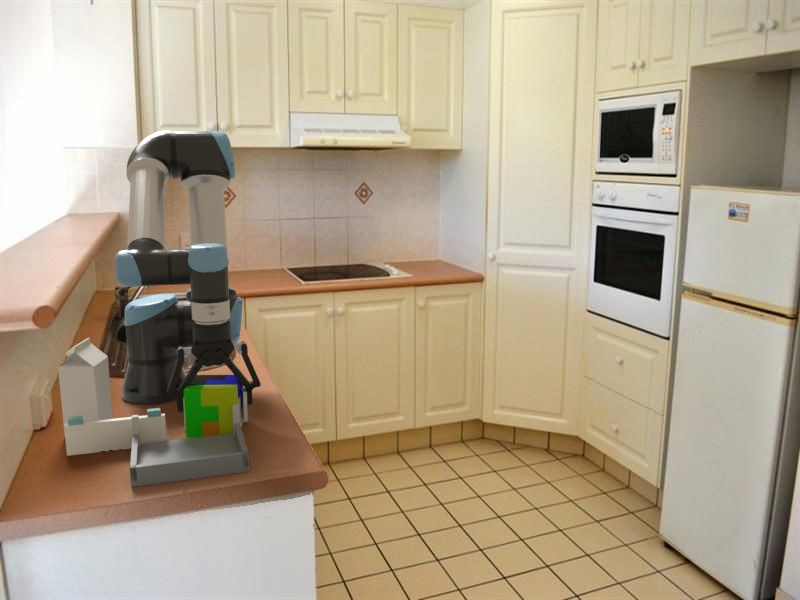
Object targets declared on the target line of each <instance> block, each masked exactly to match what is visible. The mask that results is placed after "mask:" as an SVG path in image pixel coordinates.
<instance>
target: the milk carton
mask: <svg viewBox="0 0 800 600" xmlns="http://www.w3.org/2000/svg"><path fill="white" fill-rule="evenodd" d="M64 354H65V356H67V358H66V359H64V361H62V362H60V364H58V366H57V372H58V380H59V381H58V382H59V390H60V392H59V393H60V399H61V400H60V401H61V410H62V411H61V412H62V422H63V426H64V425H65V424H67V423H68V418H69V417H75V416H83V422H87V421H96V420H106V419H114V417H113V404H112V391H111V380H110V379H111V378H110V366H109V356H108V355H107V354H106V353H104V352H103V351H102V350H101V349H99V348H98V347H96V346H95V345H94V344H93V343H91V337H87V338H86V339H84V340H82V341H81V342H79V343H78V344H76V345H74V346H73V347H71V348H70V349H69V350H67V351H66V352H65V353H64ZM63 433H64V435H65V431H64V430H63Z"/></svg>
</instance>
